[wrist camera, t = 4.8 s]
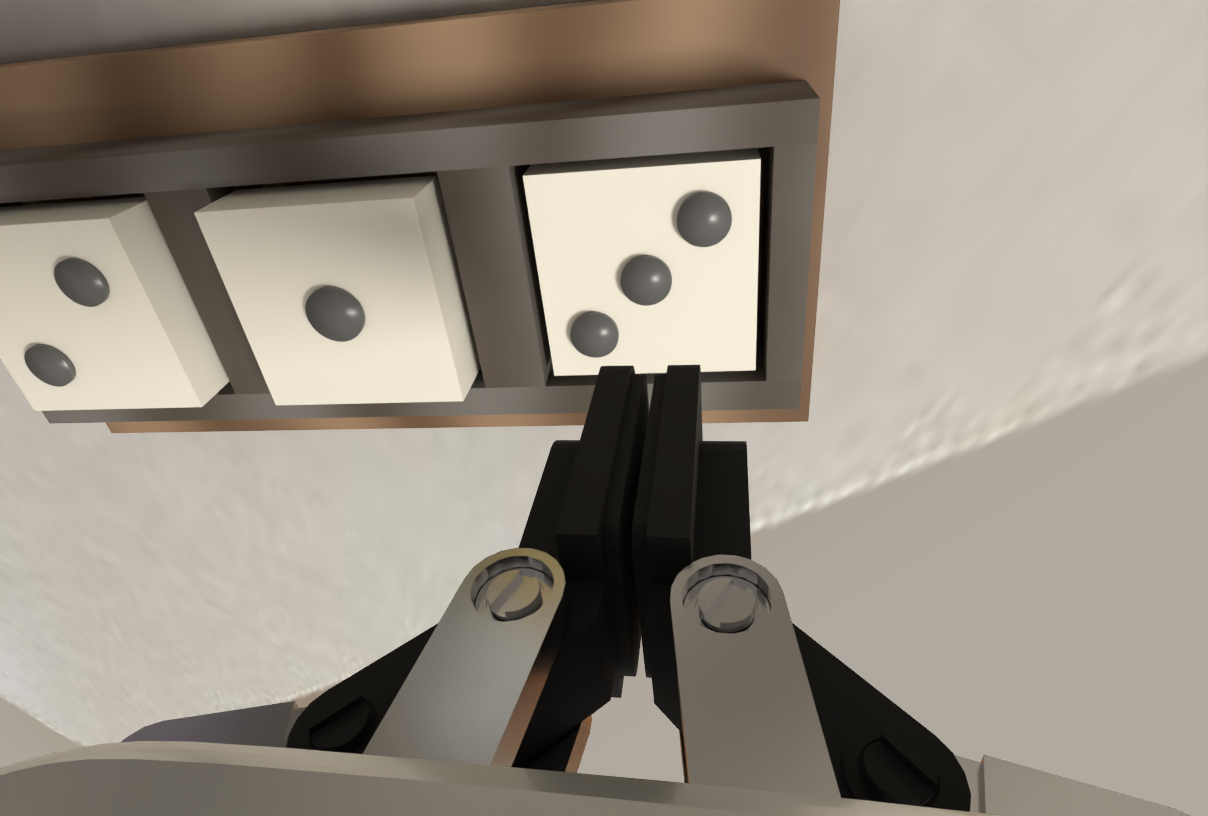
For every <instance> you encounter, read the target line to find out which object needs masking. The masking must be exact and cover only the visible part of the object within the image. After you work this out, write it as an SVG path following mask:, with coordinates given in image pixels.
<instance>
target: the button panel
mask: <svg viewBox="0 0 1208 816" xmlns="http://www.w3.org/2000/svg"><path fill="white" fill-rule="evenodd" d="M839 8H840V0H593V1H584V2H575V3H566V4H556V5H547V6H538V7H528V8H519V9H510V10H500V11H491V12H482V13H472V14H463V15H454V16H444V17H435V18H426V19H416V20H407V21H398V22H389V23H379V24H370V25H361V26H351V27H342V28H333V29H323V30H314V31H305V32H295V33H286V34H277V35H267V36H258V37H249V38H239V39H230V40H221V41H211V42H202V43H193V44H184V45H174V46H165V47H156V48H146V49H137V50H128V51H118V52H109V53H100V54H90V55H81V56H72V57H62V58H53V59H44V60H34V61H25V62H16V63H7V64H0V207H7V206H21V205H35V204H49V203H62V202H76V201H90V200H104V199H118V198H131V197H146V200H147V202H148V204H149V206H150V208H151V211H152V213H153V215H154V217H155V219H156V221H157V224H158V226H159V228H160V230H161V232H162V235H163V237H164V239H165V241H166V243H167V245H168V248H169V250H170V252H171V254H172V256H173V259H174V261H175V263H176V265H177V267H178V270H179V272H180V274H181V276H182V278H183V280H184V283H185V285H186V287H187V289H188V291H189V294H190V296H191V298H192V300H193V302H194V304H195V307H196V309H197V311H198V313H199V315H200V318H201V320H202V322H203V324H204V326H205V328H206V331H207V333H208V335H209V337H210V339H211V342H212V344H213V346H214V348H215V350H216V352H217V355H218V357H219V359H220V361H221V363H222V366H223V368H224V370H225V372H226V374H227V376H228V379H229V382H228V383H227V384H226V385H225V386H224V387H223V388H222V389H221V390H220V391H219V392H218V393H217V394H216V395H215V396H213V397H212V398H211V399H210V400H209V401H208V402H207V403H206V404H205V405H204V406H203V407H186V408H142V409H97V410H53V411H42V412H43V414H44V415H45V417H46V418H47V420H48V421H49V423H92V422H105V423H106V424H107V426H108V428H109V429H110V431H111V433H143V432H203V431H262V430H322V429H381V428H441V427H500V426H559V425H584V424H585V421H586V417H587V414H588V410H589V406H590V403H591V399H592V395H593V392H594V388H595V384H596V381H597V377H598V375H567V376H554V370H553V364H552V358H551V351H550V345H549V339H548V333H547V326H546V320H545V314H544V307H543V301H542V295H541V289H540V282H539V276H538V270H537V263H536V257H535V251H534V245H533V238H532V232H531V226H530V219H529V213H528V207H527V201H526V194H525V188H524V182H523V175H524V173H525V172H526V171H527V169H528V168H529V167H530V165H531V164H543V163H556V162H570V161H584V160H597V159H611V158H625V157H638V156H652V155H665V154H679V153H693V152H706V151H720V150H734V149H747V148H758V151H759V155H760V158H761V171H760V212H759V252H758V293H757V334H756V370H749V371H713V372H701V402H702V423H738V422H797V421H808V416H809V403H810V390H811V377H812V364H813V350H814V337H815V324H816V311H817V298H818V284H819V271H820V258H821V245H822V232H823V219H824V205H825V192H826V179H827V166H828V153H829V139H830V126H831V113H832V100H833V87H834V73H835V60H836V47H837V34H838V21H839ZM435 175H438V178H439V183H440V187H441V191H442V196H443V200H444V205H445V209H446V214H447V218H448V223H449V227H450V232H451V236H452V241H453V245H454V249H455V254H456V258H457V263H458V267H459V272H460V276H461V281H462V285H463V290H464V294H465V298H466V303H467V307H468V312H469V316H470V321H471V325H472V330H473V334H474V339H475V343H476V347H477V352H478V356H479V361H480V365H481V368H480V370H479V372H478V374H477V376H476V378H475V380H474V382H473V384H472V386H471V388H470V390H469V392H468V394H467V396H466V397H465V399H464V401H453V402H408V403H364V404H319V405H275V402H274V400H273V398H272V395H271V393H270V391H269V388H268V386H267V383H266V381H265V379H264V376H263V374H262V372H261V369H260V367H259V365H258V362H257V360H256V358H255V355H254V353H253V351H252V348H251V346H250V343H249V341H248V339H247V336H246V334H245V332H244V329H243V327H242V325H241V322H240V320H239V318H238V315H237V313H236V311H235V308H234V306H233V303H232V301H231V299H230V296H229V294H228V292H227V289H226V287H225V285H224V282H223V280H222V278H221V275H220V273H219V271H218V268H217V266H216V263H215V261H214V259H213V256H212V254H211V252H210V249H209V247H208V245H207V242H206V240H205V238H204V235H203V233H202V231H201V228H200V226H199V223H198V221H197V219H196V216H195V214H194V212H196V211H198V210H200V209H201V208H203V207H205V206H207V205H209V204H211V203H213V202H214V201H216V200H218V199H220V198H222V197H224V196H226V195H228V194H229V193H231V192H233V191H235V190H242V189H256V188H269V187H283V186H297V185H311V184H325V183H338V182H352V181H366V180H380V179H394V178H407V177H421V176H435ZM640 374H646V377H647V388H648V400H649V410H650V403H651V397H652V390H653V383H654V377H655V374H666V373H640Z"/></svg>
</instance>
